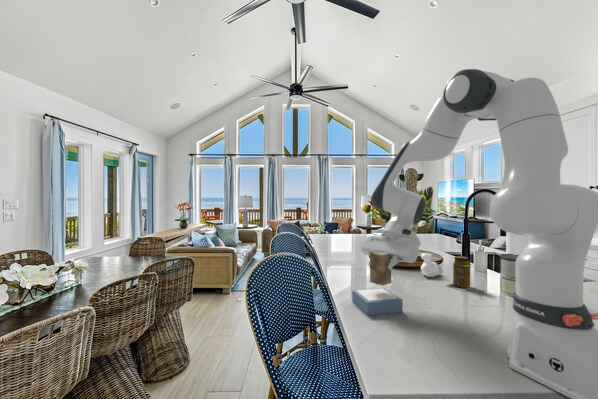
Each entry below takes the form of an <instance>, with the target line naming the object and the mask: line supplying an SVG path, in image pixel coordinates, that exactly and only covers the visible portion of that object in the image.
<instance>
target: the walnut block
mask: <svg viewBox="0 0 598 399" xmlns="http://www.w3.org/2000/svg"><path fill="white" fill-rule="evenodd" d="M391 261H392V259H391V255H390V253H384V252H372V253H370V255H369V262H370V265H369V282H370V283H372V284H374V285H378V286H386V285H389V284H392V269H391V270H388V269H386V267H385V266H386V264H387V263H389V262H391Z"/></svg>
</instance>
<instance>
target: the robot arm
mask: <svg viewBox="0 0 598 399" xmlns="http://www.w3.org/2000/svg"><path fill="white" fill-rule="evenodd" d="M475 119H477V120H478V121H479V122H481V121H482V122H483V121H496V122H497V128H498V132H499V136H500V143H501V148H502V153H503V160H504V171H503V178H502V182H501V186H500V188H499V189H498V191H497V192H496V193H495V194H494V195H493V196H492V199H491V200H490V203H489V215H490V218H491V221H492V222H493V223H494V225H496V227H497V228H498V229H500V230H502V231H504V232H507V233H511V234H513V235H519V236H525V237H529V238H528V241H527V243H526V245H525V247H524V249H523V250H522V251H521V253H520V254H519V256H518V257H517V259H516V292H514V293H513V297H512V298H513V299H512V308H513V310H514V318H513V319H514V320H513V328H512V333H511V339H510V341H509V344H508V347H507V349H506V355H507V357H508V358H509V361H508V367H510V368H511V369H513V371H516V372H518V373H520V374H522V375H524V376H526V377H528V378H530V379H531V380H534V381H535V382H538V383H540V384H542V385H543V386H545V387H548V388H550V389H551V390H553V391H556V392H558V393H559V394H561V395H564V396H565V397H567V398H569V399H598V328H596V327H595V323H594V321H595V320H598V312H597V313H590V312H589V310H588V308H587V306H586V304H585V303H584V275H585V274H584V272H585V264H586V261H587V260H586V259H587V257H588V252H589V250H590V246H591V244H592V241H593V238H594V235H595V233H596V230H597V229H598V192H596V191H595V190H592V189H590V188H586V187H583V186H580V185H577V184H566V183H565V184H563V183H562V184H561V181H560V175H561V174H560V173H561V166H562V162H563V160H564V159H565V158H566V157H567V155H568V152H569V145H568V141H567V138H566V134H565V130H564V126H563V123H562V117H561V114H560V111H559V107H558V104H557V103H556V100H555V97H554V95H553V94H552V92H551V90H550V88H549V86H548V84H547V83H546V82H545V81H544V80H543V79H541V78H538V77H524V78H520V79H518V80H517V79H516V80H514V79H508V78H507V77H505V76H502V75H500V74H498V73H494V72H491V71H485V70H481V69H477V68H467V69H462V70H459V71H457V72H455V73H454V74H453V75H452V76H451V77H449V79H448V80H447V82H446V84H445V86H444V89H443V92H442V96H440V97H439V98H438V99H437V100H436V101H435V103H434V104H433V106H432V108H431V110H430V111H429V113H428V114H427V117H426V119H425V121H424V122H423V125H422V128H421V130H420V131H419V133H418V134H417V135H416V137H414V138H413V139H411V140H407V141H406V142H405V143H404V144H402V147H401V148H400V149H399V151H398V152H397V154H396V155H395V157H394V158H393V160H392V162H391V163H390V165H389V166H388V169H387V170H386V172H385V173H384V175H383V177H382V179H381V180H380V182H379V183H378V184H377V186H376V187H375V188H374V189H373V191H372V193H371V198H370V200H371V203H372V205H373V207H374V208H375V209H378V210H381V211H383V212H384V211H385V212H388V213H390V214H391V215H390V218H389V220H388V221H387V223H385V226H384V227H383V230H382V231H381V233H378V232H377V233H376V232H372V233H371V234H369V235H368V236H367V237H366V238H365V240H364V241H363V242H362V244H361V246H360V250H361V252H362V254H363V255H366V256H370V253H372V252H384V253H390V255H391V262H389V263H387V264H386V266H385V267H386V269H388V270H391V271H392V269H393V267H395V266H396V265H397V264H399V263H400V262H404V263H410V264H413V263H414V262H416V261H417V259H418V256H419V253H420V248H419V247H420V246H421V240H420V238H419V236H418V234H416V232H415V231H414V230H412V228H413V227H414V226H416V225H417V224H419V223H421V221H422V219H423V215H424V214H425V212H426V210H427V208H428V203H427V200H426V198H425V197H424V196H423V195H421V194H418V193H416V192H413V191H411V190H408V189H405V188H403V187H400V186H397V185H396V184H395V183H394V182H395V181H396V180H397V178H398V176H399V175H400V173H401V172H402V170H403V168H404V167H405V165H407V164H409V163H412V162H413V163H414V162H433V161H439V160H441V159H445V158H447V157H448V156H449V155H450V154H452V152H453V151H454V150H455V147H457V144H458V142H459V140H460V138H461V136H462V133H463V131H464V129H465V128H466V126H467V124H469V122H471V121H472V120H475ZM368 264H369V266H370V261H369V262H368Z"/></svg>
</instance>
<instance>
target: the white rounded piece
mask: <svg viewBox="0 0 598 399" xmlns="http://www.w3.org/2000/svg"><path fill="white" fill-rule="evenodd" d="M420 258H421V260H423V263H422V265H421V266H420V271H421V274H422V275H424V276H426V278H428V277H430V278H433V277H437V276H438V274H439V272H440V267H439V265H438V263H437V262H435V261H432V260H433V259H434V257H433V256H432V253H429V252H423V253H421V255H420Z"/></svg>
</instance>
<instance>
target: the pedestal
mask: <svg viewBox="0 0 598 399" xmlns="http://www.w3.org/2000/svg"><path fill="white" fill-rule="evenodd" d="M351 291H352V292H351V297H352V298H351V301H352V303H353V304H354V305H356V307H358V308H359V309H360V310H361V312H363V313H364V314H366V316H373V315H383V314H384V315H387V314H396V313H402V312H403V310H404V309H403V305H404V304H403V302H404V301H403V299H402V298H401V297H400V296H397V294H394V293H393V292H391V291H390V290H388V289H387V288H385V287H375V288H362V289H352V290H351Z"/></svg>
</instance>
